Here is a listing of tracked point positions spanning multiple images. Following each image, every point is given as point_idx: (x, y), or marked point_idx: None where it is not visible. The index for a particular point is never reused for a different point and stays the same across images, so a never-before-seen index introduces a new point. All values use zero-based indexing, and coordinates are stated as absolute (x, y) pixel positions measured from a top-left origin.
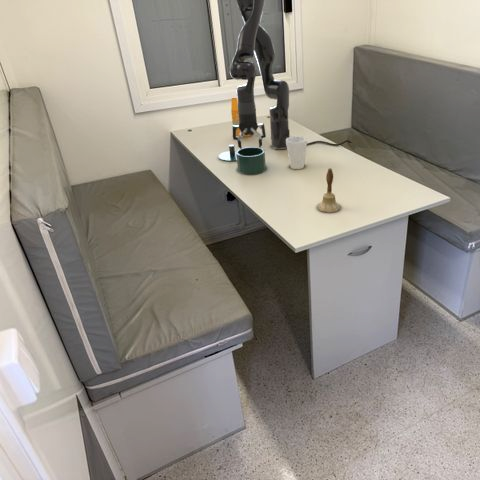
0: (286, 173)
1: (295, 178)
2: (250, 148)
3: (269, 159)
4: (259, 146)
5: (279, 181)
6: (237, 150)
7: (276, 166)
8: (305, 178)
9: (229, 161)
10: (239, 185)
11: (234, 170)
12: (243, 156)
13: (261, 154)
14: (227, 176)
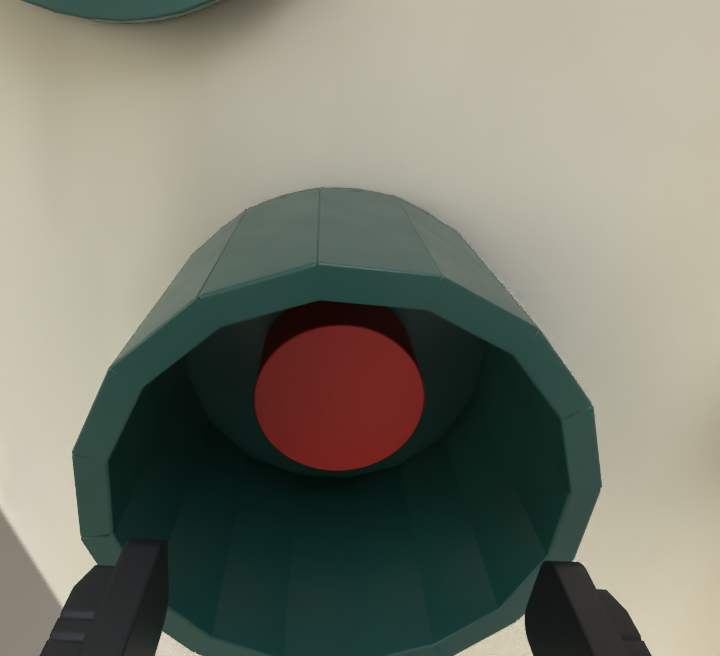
0: (632, 531)
1: (647, 626)
2: (392, 302)
3: (662, 76)
4: (531, 643)
5: (505, 644)
6: (97, 397)
7: (629, 350)
8: (716, 640)
9: (27, 1)
10: (168, 642)
11: (122, 324)
12: (200, 654)
13: (485, 636)
14: (45, 458)
